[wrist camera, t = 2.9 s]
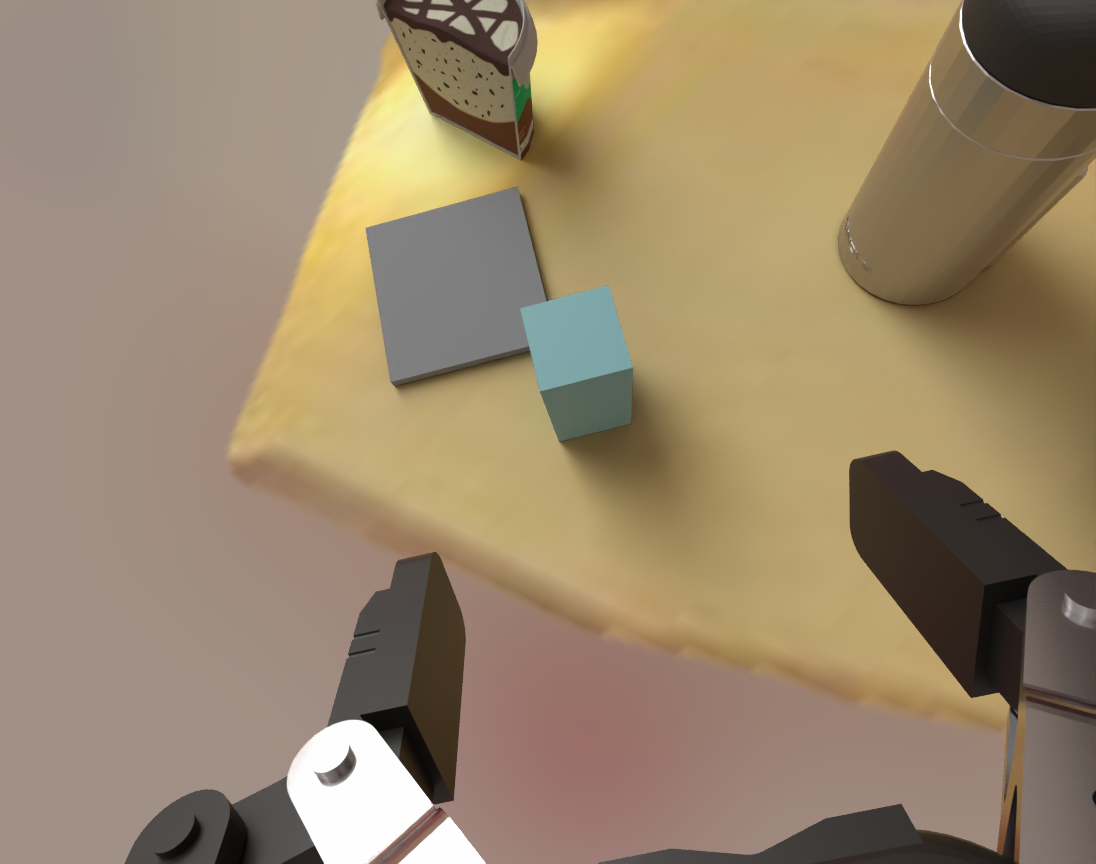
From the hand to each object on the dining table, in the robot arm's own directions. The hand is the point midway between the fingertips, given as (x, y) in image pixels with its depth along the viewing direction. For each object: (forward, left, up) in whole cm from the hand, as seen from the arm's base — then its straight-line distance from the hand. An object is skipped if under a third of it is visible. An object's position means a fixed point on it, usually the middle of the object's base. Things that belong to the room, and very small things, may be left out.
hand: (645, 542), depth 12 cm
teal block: (0, -13, -29) cm, 32 cm away
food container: (+1, -39, -29) cm, 49 cm away
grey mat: (+7, -24, -29) cm, 38 cm away
